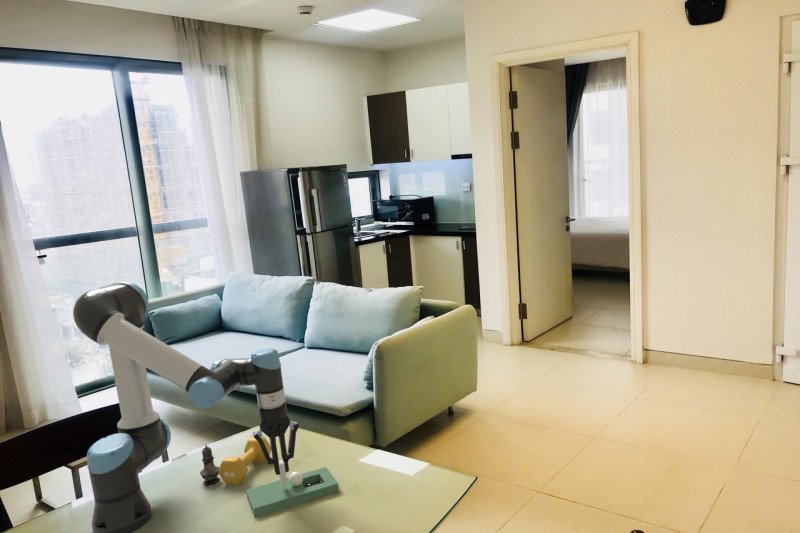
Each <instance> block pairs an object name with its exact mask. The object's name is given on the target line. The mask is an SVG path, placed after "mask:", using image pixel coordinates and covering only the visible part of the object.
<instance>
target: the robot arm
mask: <svg viewBox="0 0 800 533" xmlns="http://www.w3.org/2000/svg"><path fill="white" fill-rule="evenodd" d="M148 308H149V298H148V296H147V294H146V291H145V290H144V289H143V288H142V287H141V286H139V285H138V284H136V283H134V282H131V281H118V282H113V283H111V284H108V285H104V286H101V287H98V288H96V289H95V288H93V289H91V290H89V291H86V292H84V293H83V294H82V295H81V296H79V298H77V300H76V301H75V304H74V306H73V310H72V316H73V320H74V323H75V325H76V327H77V328H78V329H79V331H80V332H81V333H82V334H83V335H85V336H86V337H87V338H88V339H90V340H91V341H93V342H94V343H97V344H98V345H100V346H105V345H108V349H109V355H110V359H111V360H110V361H111V365H112V366H111V367H112V370H113V377H114V382H115V388H116V393H117V394H116V395H117V400H118V404H119V410H120V414H121V418H120V420H119V421H118V422H117V425H116V427H117V432H118V433H112V434H109V435H107V436H106V437H102V438H99V440H97V441H96V442H94V443H93V444H92V445H91V446H90V447H89V448H88V450H87V453H86V460H87V462H86V464H87V470H88V474H89V478H90V482H91V488H92V494H93V498H94V507H93V513H92V520H91V527H92V533H130V532H134V531H135V530H137V529H139V528H141V527H143V526H144V525H145V524H147V523H148V522H149V520H151V518H152V515H153V511H152V506H151V503H150V502H149V500H148V498H147V496H146V495H145V493H144V492H143V490H142V488H141V483H140V477H139V473H140V472H142V471H143V470H144V469H145V468H147V467H148V466H149V465H150V464H151V463H153V462H154V461H156V460H158V459H160V457H161V456H162V455H163V454H164V452H166V450H167V449H168V448H169V446H170V444H171V440H172V439H171V438H172V437H171V436H172V434H171V429H170V426H169V424H168V423H165V420H164V419H163V418H161V416H160V414H159V412H157V411H155V410H154V408H153V402H152V398H151V391H150V385H149V378H148V373H147V369H148V370H149V371H152V372H153V373H156V375H158V376H160V377H162V378H163V379H165V380H167V381H169V382H170V383H171V384H174V385H175V386H177V387H179V388H180V389H182V390H184V391H185V392H187V393H188V398H189V400H190V401H191V403H192V405H193V406H194V407H196V408H197V409H202V410H203V409H205V410H206V409H209V408H211V407H213V406H215V405H216V404H219V403H220V402H221V401H222V400H223V399H224V398H225V397H226V396H227V395H229V394H231V393H232V392H233V391H234V390H236V389H237V388H238V387H244V386H245V387H246V386H249V387H250V386H254V387H255V392H256V399H257V407H258V413H259V418H260V424H259V428H258V429H257V430H256V431H253V432H252V437H253V436H254V438H255V439H256V440H257V441H258V442H259V445H260V447H261V449H262V451H263V454H264V456H265V458H266V461H265V462H266V463H267V464H268V465H273V469H274V473H275V475H276V476H278V477H279V480H280V483H281V485H282V486H285V485H287V478H288V477H287V473H289V472H290V468H289V467H290V465H289V461H290V459H293V458H294V457H295V449H296V441H297V440H296V438H297V431H298V429H299V427H300V425H299V423H298V422H297V421H296V420H295V421H292V420H291V419H290V417H289V416H288V415H289V414H288V409H287V408H288V407H287V402H286V396H285V394H286V393H285V388H284V387H285V386H284V382H283V375H282V363H281V361H280V360H281V359H280V354H279V352H278V349H275V348H271V347H269V348H267V347H266V348H260V349H256V350H255V351H252V352H251V354H250V357H249V358H248V357H247V358H224V359H219V360H215V361H214V362H212V365H211V366H210V368H208V367H205V365H204V366H203V365H202V364H200V363H199V362H197V361H195V360H193V359H192V358H190V357H189V356H188V355H185V354H183V353H182V352H180V351H178V350H177V349H175V348H173V347H171V346H170V345H168V344H167V343H164V342H163V341H162V340H160V339H158V338H156V337H154V336H153V335H151V334H150V333H148V332H146V331H145V330H143V329H144V328H145V323H144V317H143V316H144V315H145V314H146V313H147V311H148ZM288 428H289V438H288V446H287V445H286V435H285V433H286V432H287V430H288ZM263 434H264V435H266V436H267V437H268V438H269V444H270V446H271V456H270V455H269V453H268V451H267V449H266V446H265V444H264V442H263V440H262V437H264V436H263ZM277 438H278V441H279V448H280V454H281V459H280V460H279V453H278V447H277Z"/></svg>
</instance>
